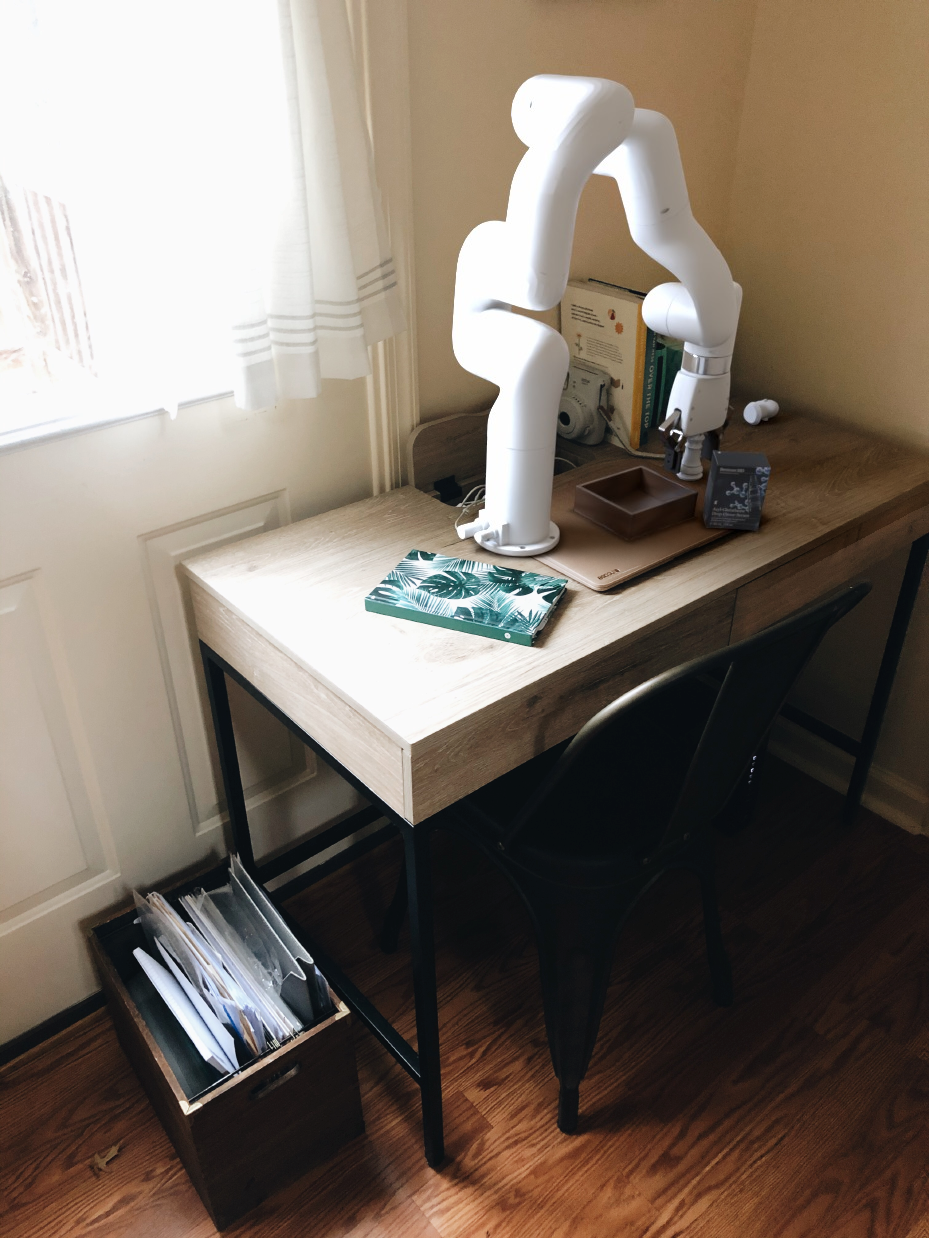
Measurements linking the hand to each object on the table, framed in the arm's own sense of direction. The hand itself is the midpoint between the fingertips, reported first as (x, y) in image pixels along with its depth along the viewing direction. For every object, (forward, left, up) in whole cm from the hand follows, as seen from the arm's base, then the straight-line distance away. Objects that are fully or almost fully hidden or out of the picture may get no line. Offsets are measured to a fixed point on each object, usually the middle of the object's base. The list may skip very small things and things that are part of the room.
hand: (690, 464), depth 160 cm
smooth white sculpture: (+31, +11, -2) cm, 33 cm away
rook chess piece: (0, 0, -2) cm, 2 cm away
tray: (-18, -5, -2) cm, 19 cm away
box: (-8, -15, -2) cm, 17 cm away
